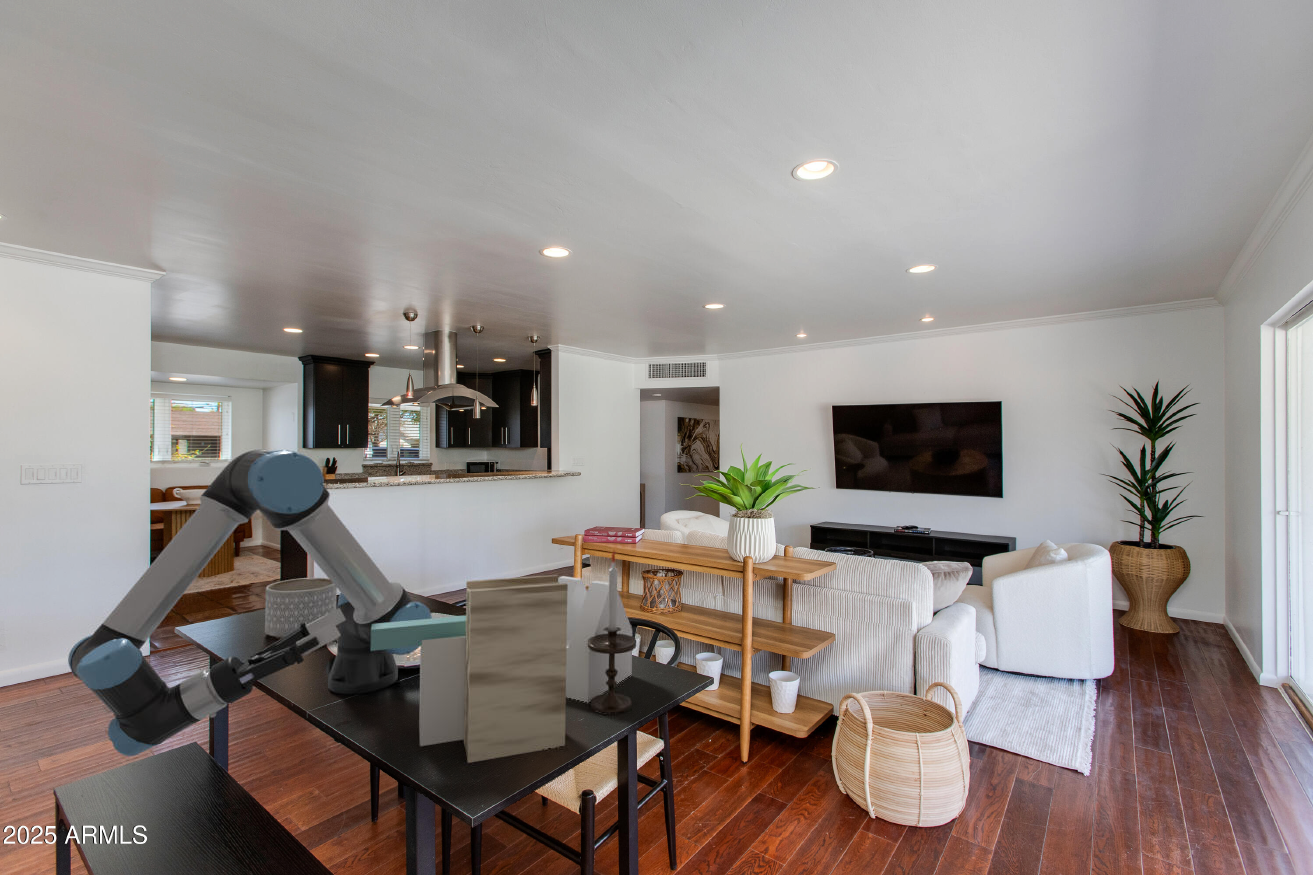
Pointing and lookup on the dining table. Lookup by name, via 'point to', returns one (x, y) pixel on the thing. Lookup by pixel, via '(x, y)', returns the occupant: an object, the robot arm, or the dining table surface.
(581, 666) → the white slotted block
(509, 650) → the stand
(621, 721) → the dining table surface
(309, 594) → the planter
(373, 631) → the bar
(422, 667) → the white lidded box
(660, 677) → the dining table surface
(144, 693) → the robot arm
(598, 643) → the candlestick
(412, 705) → the dining table surface
